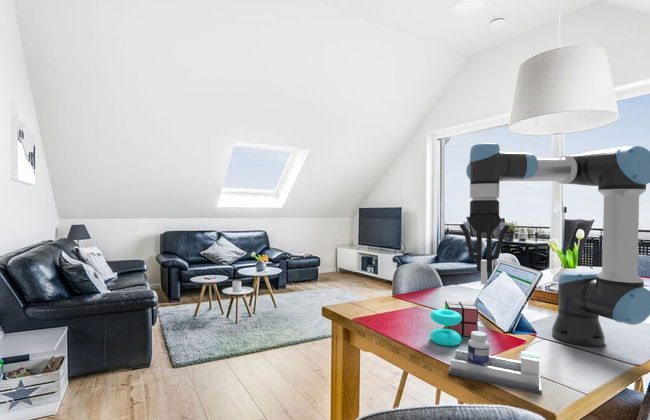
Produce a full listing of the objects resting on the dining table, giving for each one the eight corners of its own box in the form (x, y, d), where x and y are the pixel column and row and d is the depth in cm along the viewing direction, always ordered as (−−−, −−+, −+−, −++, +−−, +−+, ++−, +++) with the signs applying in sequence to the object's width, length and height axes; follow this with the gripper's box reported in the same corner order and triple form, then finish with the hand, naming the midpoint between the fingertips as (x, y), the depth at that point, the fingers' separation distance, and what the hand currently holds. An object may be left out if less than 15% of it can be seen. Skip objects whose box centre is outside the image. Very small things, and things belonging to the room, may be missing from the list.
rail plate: (539, 376, 100) (539, 363, 100) (541, 394, 90) (541, 380, 90) (454, 359, 110) (454, 347, 110) (448, 374, 100) (448, 361, 100)
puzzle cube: (477, 337, 128) (478, 309, 128) (447, 335, 130) (448, 307, 130) (472, 328, 138) (472, 302, 138) (444, 326, 140) (445, 300, 140)
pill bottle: (466, 363, 105) (466, 329, 105) (486, 364, 104) (486, 330, 104) (469, 371, 100) (470, 335, 100) (490, 373, 99) (491, 337, 98)
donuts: (455, 308, 129) (466, 317, 119) (455, 336, 129) (466, 347, 119) (427, 308, 129) (435, 316, 119) (426, 336, 129) (435, 347, 119)
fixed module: (538, 376, 97) (538, 353, 97) (539, 385, 93) (539, 361, 92) (520, 372, 99) (521, 350, 99) (520, 381, 94) (521, 357, 94)
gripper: (510, 199, 103) (510, 283, 103) (461, 199, 109) (461, 278, 109) (510, 199, 96) (509, 288, 97) (458, 199, 102) (457, 283, 103)
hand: (484, 283), depth 103 cm, fingers closed
